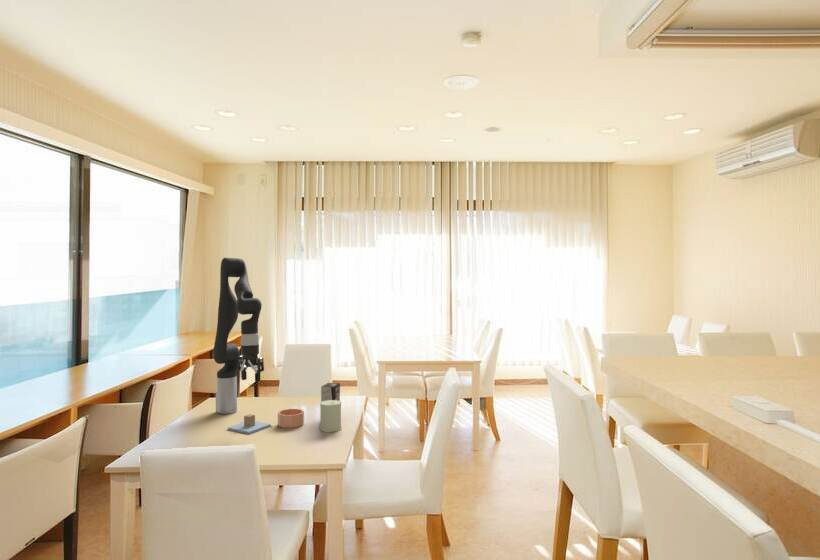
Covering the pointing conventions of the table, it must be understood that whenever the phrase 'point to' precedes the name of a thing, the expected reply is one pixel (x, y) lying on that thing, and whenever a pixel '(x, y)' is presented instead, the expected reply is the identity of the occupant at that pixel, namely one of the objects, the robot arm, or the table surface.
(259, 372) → the robot arm
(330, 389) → the coffee box
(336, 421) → the can
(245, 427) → the lid
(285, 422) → the bowl
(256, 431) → the mat
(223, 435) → the table surface
